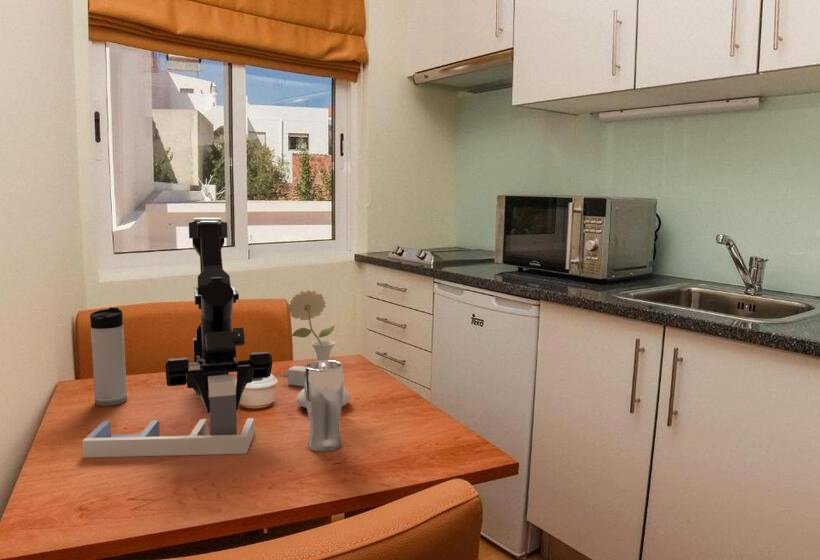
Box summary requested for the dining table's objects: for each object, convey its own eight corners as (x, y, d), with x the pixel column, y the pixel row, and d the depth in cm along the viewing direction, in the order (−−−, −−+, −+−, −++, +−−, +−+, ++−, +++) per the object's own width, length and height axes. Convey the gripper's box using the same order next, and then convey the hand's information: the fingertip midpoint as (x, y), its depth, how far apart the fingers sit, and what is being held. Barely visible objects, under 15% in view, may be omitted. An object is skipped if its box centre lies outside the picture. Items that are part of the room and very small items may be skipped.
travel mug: (133, 397, 139) (129, 307, 136) (117, 407, 132) (111, 313, 130) (106, 395, 139) (101, 306, 137) (88, 405, 133) (83, 312, 130)
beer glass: (350, 440, 116) (350, 361, 114) (333, 455, 110) (333, 372, 108) (316, 435, 119) (315, 358, 116) (298, 449, 112) (296, 368, 110)
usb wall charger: (303, 388, 147) (303, 371, 146) (278, 384, 149) (278, 368, 149) (312, 383, 151) (312, 366, 150) (287, 379, 153) (287, 363, 152)
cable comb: (254, 433, 119) (254, 418, 119) (246, 453, 110) (246, 437, 110) (104, 436, 117) (103, 421, 116) (83, 457, 108) (82, 440, 107)
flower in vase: (351, 397, 141) (351, 286, 137) (348, 415, 129) (348, 295, 126) (293, 397, 140) (291, 285, 137) (284, 415, 129) (282, 294, 125)
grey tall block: (210, 439, 116) (207, 376, 114) (235, 436, 118) (233, 374, 116) (211, 448, 112) (208, 383, 110) (237, 445, 114) (235, 381, 112)
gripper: (163, 315, 112) (164, 394, 103) (270, 309, 118) (279, 383, 110) (166, 348, 120) (167, 423, 112) (265, 341, 127) (274, 412, 118)
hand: (222, 410), depth 113 cm, fingers closed on grey tall block, 4 cm apart
